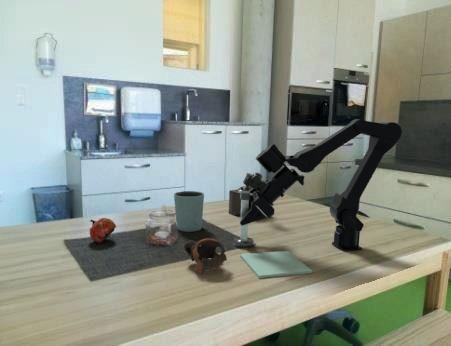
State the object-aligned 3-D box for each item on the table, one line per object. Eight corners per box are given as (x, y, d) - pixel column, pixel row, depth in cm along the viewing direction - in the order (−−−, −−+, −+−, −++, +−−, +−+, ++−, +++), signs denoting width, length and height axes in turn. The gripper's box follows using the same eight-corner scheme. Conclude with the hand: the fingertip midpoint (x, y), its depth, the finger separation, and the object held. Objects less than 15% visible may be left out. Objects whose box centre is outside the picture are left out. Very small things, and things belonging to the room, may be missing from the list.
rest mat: (287, 252, 101) (287, 250, 101) (312, 272, 88) (312, 270, 87) (240, 256, 97) (240, 254, 97) (258, 278, 84) (258, 275, 84)
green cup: (207, 231, 119) (208, 195, 118) (177, 233, 116) (178, 197, 114) (198, 223, 129) (198, 190, 127) (170, 225, 125) (170, 191, 123)
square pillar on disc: (252, 241, 110) (254, 190, 108) (254, 248, 104) (256, 194, 102) (232, 241, 110) (234, 189, 107) (233, 248, 104) (235, 193, 101)
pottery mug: (231, 263, 93) (234, 243, 88) (214, 291, 87) (216, 270, 81) (192, 245, 97) (192, 224, 92) (172, 271, 90) (171, 249, 85)
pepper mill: (226, 213, 144) (227, 169, 141) (245, 209, 151) (246, 167, 149) (255, 221, 133) (257, 173, 130) (274, 217, 140) (276, 171, 138)
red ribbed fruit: (118, 245, 110) (96, 223, 111) (128, 229, 107) (106, 207, 108) (101, 255, 103) (78, 232, 105) (112, 239, 100) (88, 215, 102)
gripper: (257, 161, 113) (221, 194, 114) (264, 168, 94) (221, 208, 95) (280, 186, 114) (244, 219, 115) (292, 198, 95) (249, 237, 97)
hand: (239, 220), depth 106 cm, fingers open, 9 cm apart
